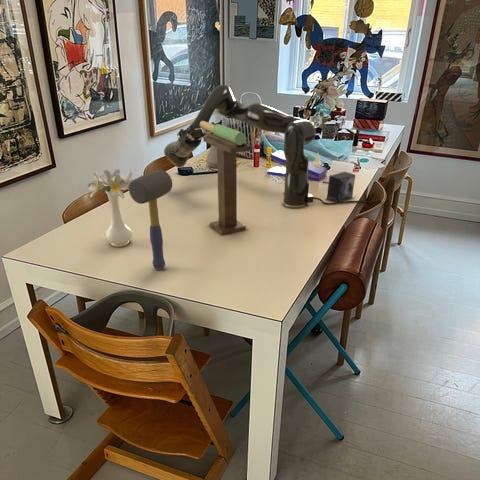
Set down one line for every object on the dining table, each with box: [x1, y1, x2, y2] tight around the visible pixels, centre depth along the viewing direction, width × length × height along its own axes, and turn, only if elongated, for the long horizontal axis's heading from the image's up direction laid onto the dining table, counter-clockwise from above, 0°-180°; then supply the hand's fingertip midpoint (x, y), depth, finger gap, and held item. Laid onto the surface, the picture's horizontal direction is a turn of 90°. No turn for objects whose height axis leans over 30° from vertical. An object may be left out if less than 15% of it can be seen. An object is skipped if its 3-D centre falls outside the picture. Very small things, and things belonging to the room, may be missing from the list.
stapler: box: [266, 149, 328, 182], centre depth 237 cm, size 12×28×10 cm, turn 63°
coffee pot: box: [205, 144, 217, 169], centre depth 248 cm, size 21×12×15 cm, turn 68°
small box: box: [326, 171, 356, 203], centre depth 206 cm, size 11×6×10 cm, turn 131°
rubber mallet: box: [128, 169, 173, 271], centre depth 144 cm, size 12×8×30 cm, turn 150°
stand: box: [202, 133, 252, 236], centre depth 172 cm, size 20×10×32 cm, turn 30°
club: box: [200, 121, 246, 145], centre depth 165 cm, size 28×4×4 cm, turn 30°
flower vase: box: [87, 169, 136, 248], centre depth 162 cm, size 13×18×25 cm
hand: (203, 125), depth 175 cm, fingers open, 8 cm apart
